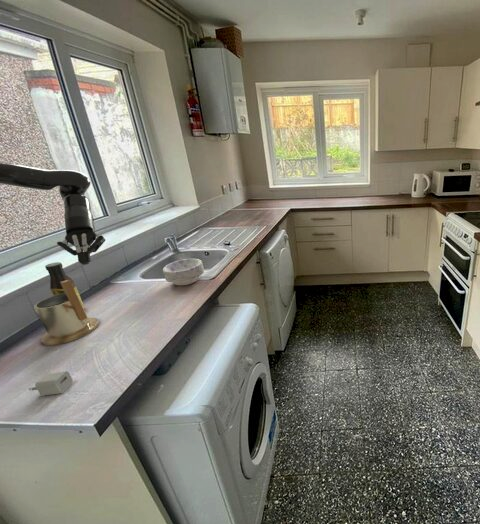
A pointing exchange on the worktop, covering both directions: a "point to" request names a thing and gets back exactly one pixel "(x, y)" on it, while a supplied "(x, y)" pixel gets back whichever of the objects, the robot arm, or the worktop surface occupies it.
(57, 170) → the robot arm
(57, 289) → the sauce bottle
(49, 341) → the turntable
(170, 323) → the worktop surface
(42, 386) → the usb wall charger
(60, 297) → the flanged cylinder with handle
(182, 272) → the white purple floral bowl
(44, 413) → the worktop surface
